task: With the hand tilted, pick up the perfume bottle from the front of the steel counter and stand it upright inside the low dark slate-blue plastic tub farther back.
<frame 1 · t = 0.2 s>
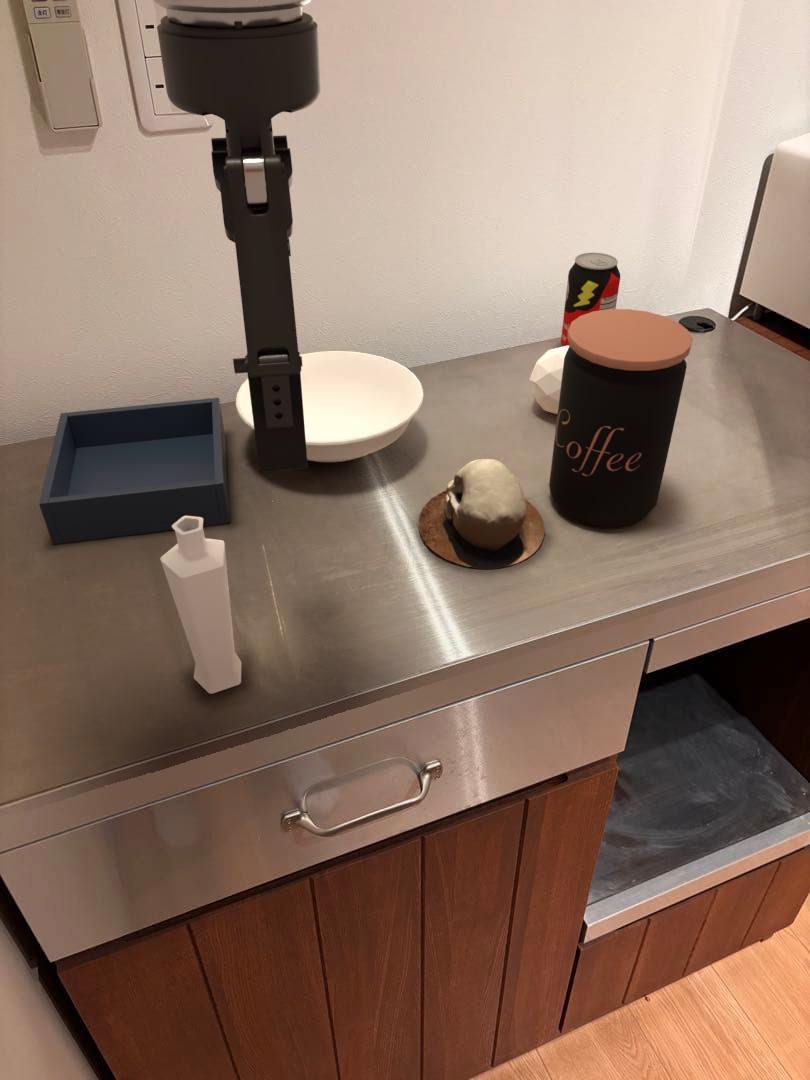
hand: (276, 407, 53), 24 cm above the worktop, tool pointing down, fingers open, 13 cm apart
perfume bottle: (222, 675, 68), on the worktop
coffee jar: (601, 502, 86), on the worktop
bin: (146, 485, 88), on the worktop
skull: (480, 530, 82), on the worktop
geometric ball: (561, 411, 100), on the worktop
beverage can: (584, 352, 112), on the worktop
bowl: (333, 445, 94), on the worktop
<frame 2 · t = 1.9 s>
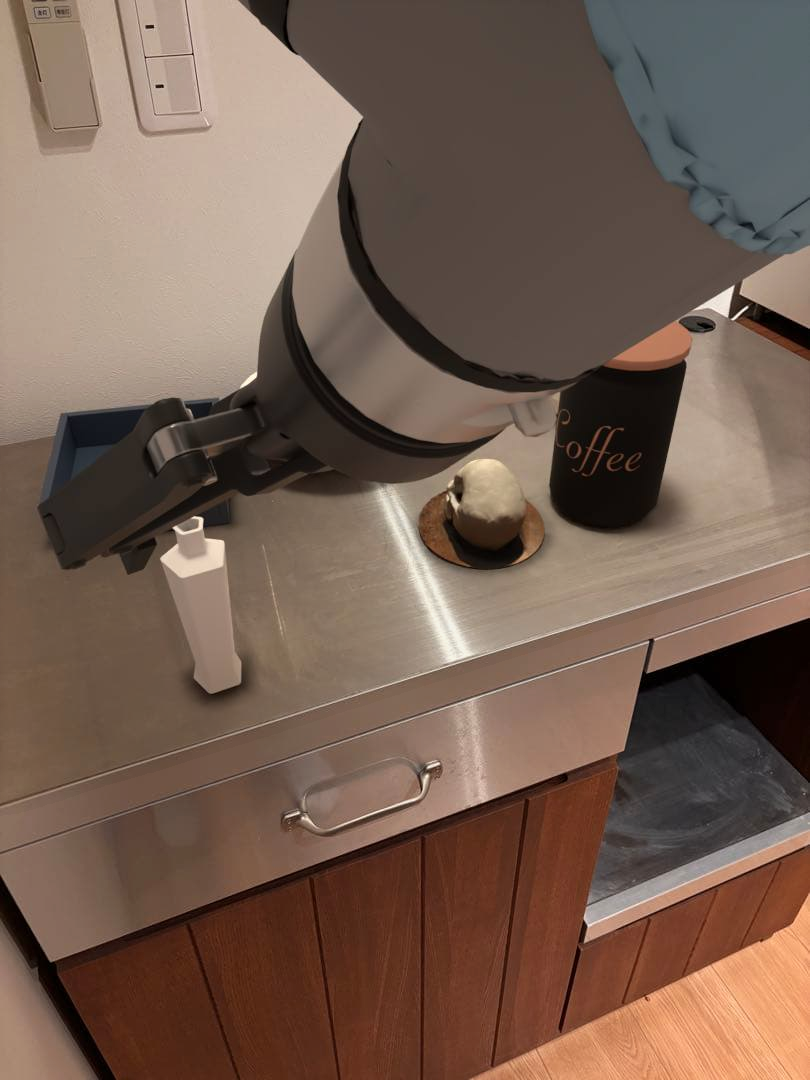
hand: (259, 498, 42), 26 cm above the worktop, tool tilted 45°, fingers open, 13 cm apart
nothing on the worktop moved.
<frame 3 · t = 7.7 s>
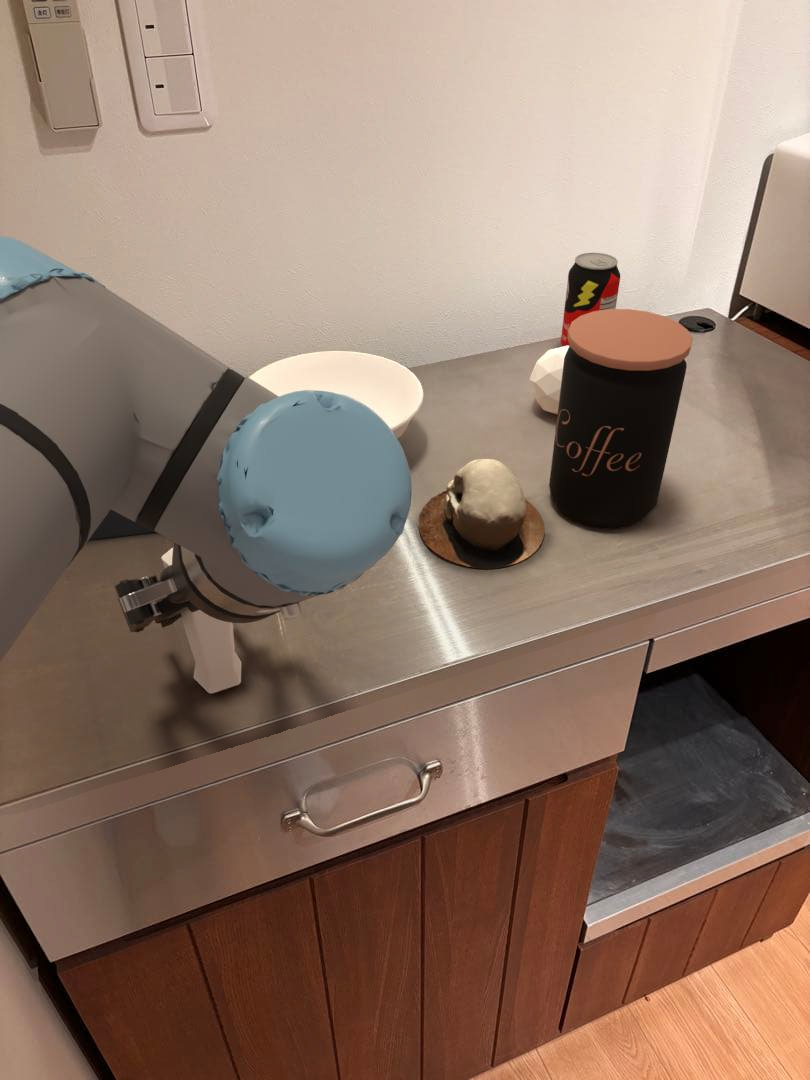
hand: (193, 597, 67), 5 cm above the worktop, tool tilted 45°, fingers closed on perfume bottle, 5 cm apart
perfume bottle: (221, 675, 68), on the worktop, touching gripper
everything else where it was.
when the fingers open (6 cm above the worktop, at t = 17.4 s): perfume bottle stays where it is, resting on bin.
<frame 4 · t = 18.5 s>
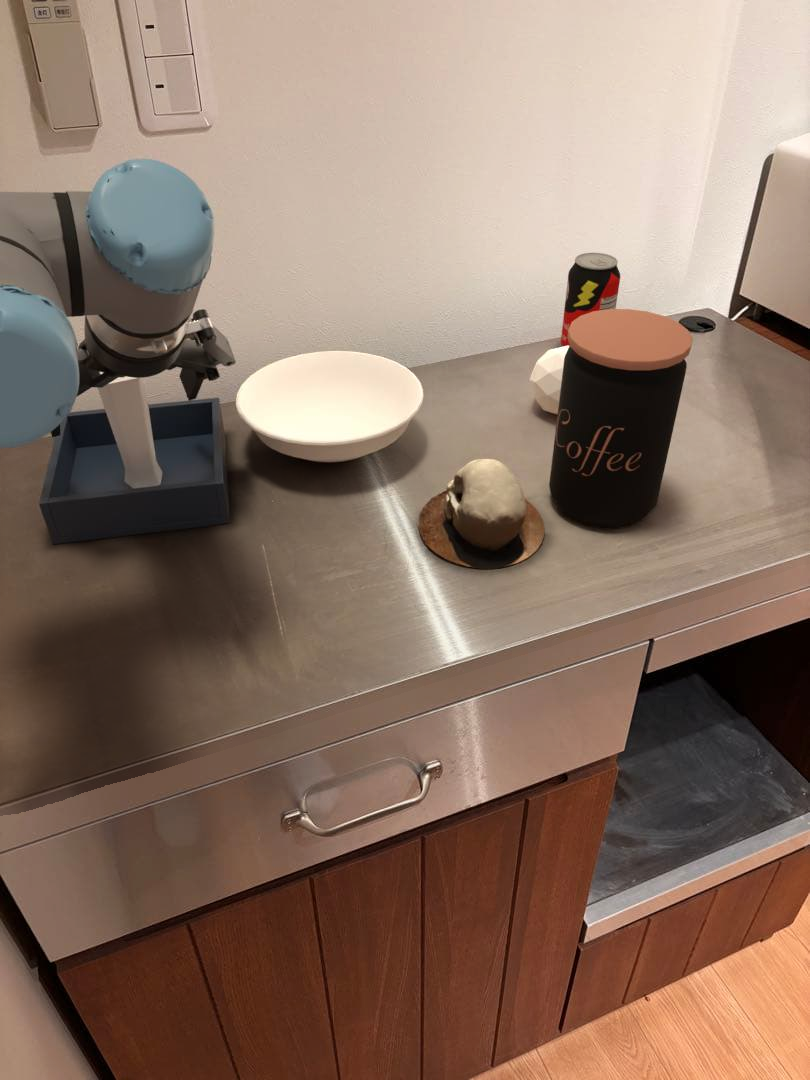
hand: (121, 404, 85), 8 cm above the worktop, tool tilted 45°, fingers open, 13 cm apart
perfume bottle: (146, 480, 88), point 1 cm above the worktop, touching bin
everything else where it was.
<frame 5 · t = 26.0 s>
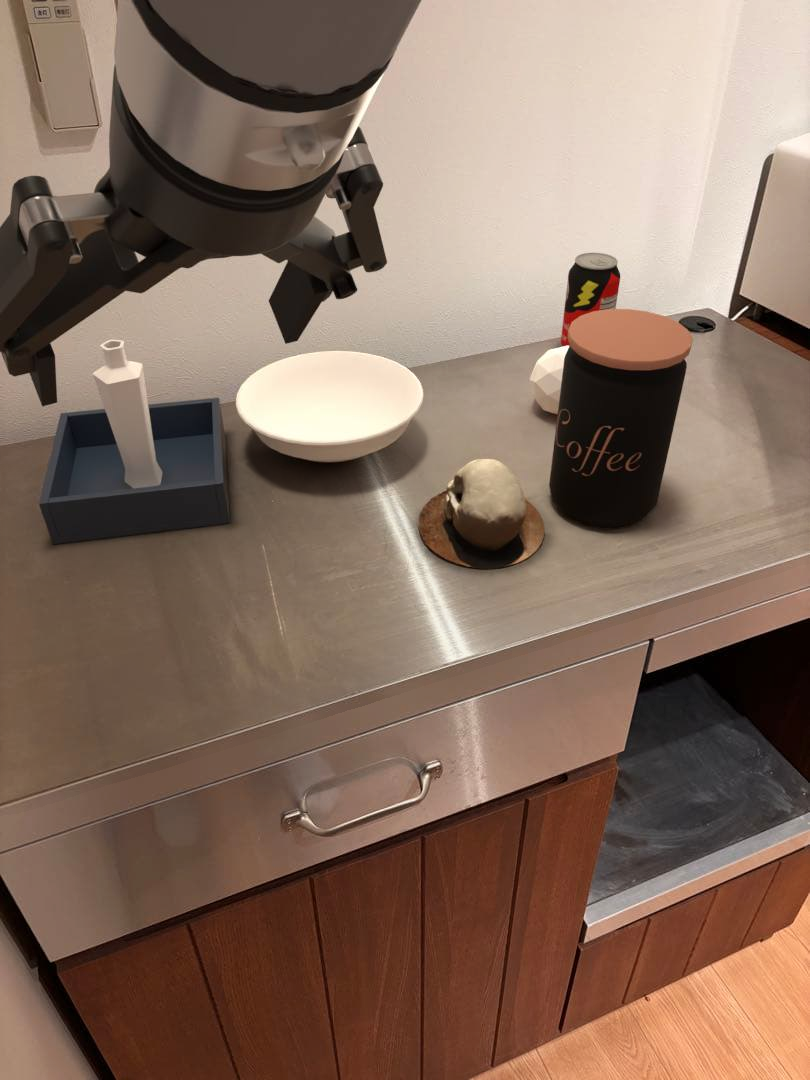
hand: (168, 349, 47), 30 cm above the worktop, tool tilted 45°, fingers open, 13 cm apart
nothing on the worktop moved.
at the end: perfume bottle inside the target area in the bin (0.2 cm from its centre), point 0.6 cm above the bin's base; perfume bottle tilted 0°; the gripper is holding nothing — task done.
